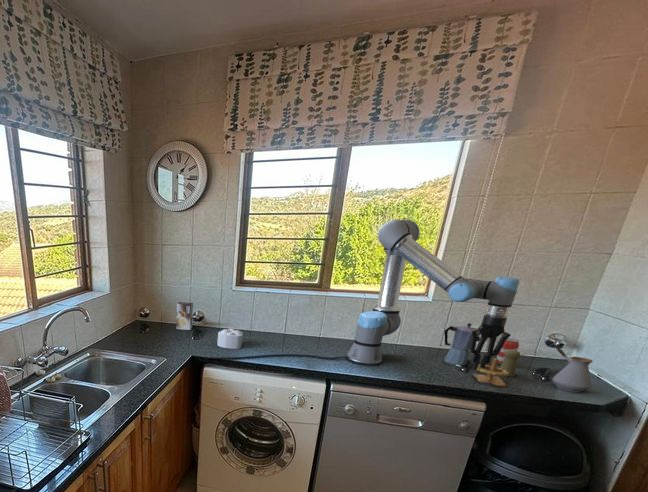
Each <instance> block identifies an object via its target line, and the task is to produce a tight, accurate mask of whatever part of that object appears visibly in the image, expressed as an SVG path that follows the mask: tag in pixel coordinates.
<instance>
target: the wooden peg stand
mask: <svg viewBox="0 0 648 492" xmlns="http://www.w3.org/2000/svg"><path fill="white" fill-rule="evenodd" d="M498 361H499V359H497V358H496V357H493V358H492V361H491V363H490V369H488V370H489V371H493V372H496V371H495V370H496V367H498ZM473 376H474V377H475V378H476V379H477V381H478V382H480V383H487V384H491V385H492V386H498V387H506V386H507V383H506V382H505V381H504V380H502V378H500V376H494V375H489V374H479V373H473Z"/></svg>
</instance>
